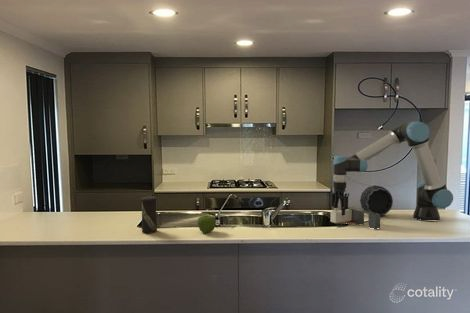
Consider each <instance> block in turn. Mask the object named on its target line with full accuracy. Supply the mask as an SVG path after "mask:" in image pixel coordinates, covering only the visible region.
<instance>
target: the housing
mask: <svg viewBox="0 0 470 313" xmlns="http://www.w3.org/2000/svg"><path fill="white" fill-rule="evenodd" d="M365 215H368V227H370V228H374V229H377V228H380V229H381V216H380V214H378V213H374V212H370V211H366V210H364V209H363V208H358V209H353V223H355V225H357V224H363V225H365V222H364V220H365ZM370 228H369V229H370Z"/></svg>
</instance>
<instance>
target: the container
mask: <svg viewBox="0 0 470 313" xmlns="http://www.w3.org/2000/svg"><path fill="white" fill-rule="evenodd" d="M157 200H158V199H157V196H150V195H149V196H143V197H141V198H140V202H141V232H142V233H143V234H153V233H156V232H157V231H158V222H157Z"/></svg>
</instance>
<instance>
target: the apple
mask: <svg viewBox="0 0 470 313" xmlns="http://www.w3.org/2000/svg"><path fill="white" fill-rule="evenodd" d="M216 224H217V220H216V217H214V216H213V215H207V214H206V215H201V216H199V217H198V219H197V226H198V228H199V231H200V232H201V233H203V234H209V233H211V232H213V231H214V229H215V227H216Z"/></svg>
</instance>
